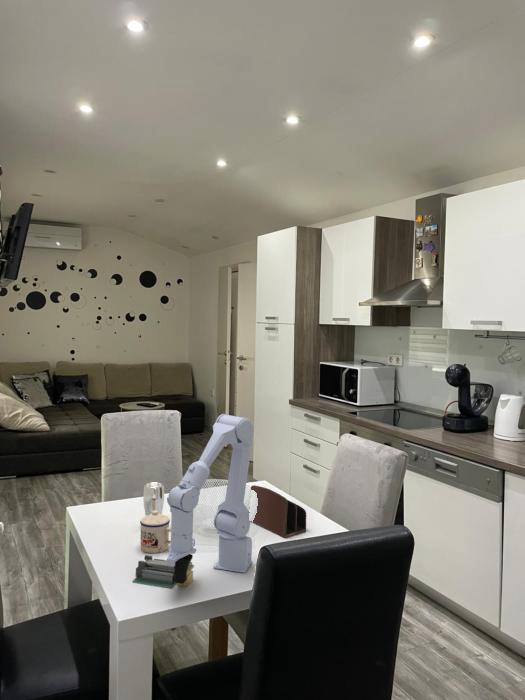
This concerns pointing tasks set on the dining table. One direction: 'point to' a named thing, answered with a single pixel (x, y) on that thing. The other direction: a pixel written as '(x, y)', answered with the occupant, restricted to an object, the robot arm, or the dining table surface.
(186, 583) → the clip
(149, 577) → the block
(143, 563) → the grey forked bracket
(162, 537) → the teacup with lid
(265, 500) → the letter holder
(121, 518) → the dining table surface
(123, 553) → the dining table surface
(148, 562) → the grey long flat bar
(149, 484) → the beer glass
